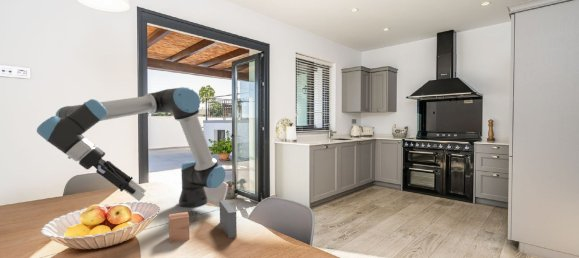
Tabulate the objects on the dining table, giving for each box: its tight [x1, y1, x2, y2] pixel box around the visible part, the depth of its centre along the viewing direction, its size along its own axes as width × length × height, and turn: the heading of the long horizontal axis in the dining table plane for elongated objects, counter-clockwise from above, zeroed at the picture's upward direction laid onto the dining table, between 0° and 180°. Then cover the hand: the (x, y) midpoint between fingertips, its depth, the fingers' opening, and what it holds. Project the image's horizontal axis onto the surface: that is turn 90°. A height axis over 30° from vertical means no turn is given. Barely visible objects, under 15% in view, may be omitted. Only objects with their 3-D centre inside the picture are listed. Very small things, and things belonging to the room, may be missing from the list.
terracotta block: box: [168, 211, 190, 244], centre depth 107 cm, size 6×7×9 cm
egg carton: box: [181, 208, 201, 223], centre depth 125 cm, size 11×8×4 cm
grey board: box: [219, 199, 238, 239], centre depth 115 cm, size 18×3×10 cm, turn 25°
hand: (142, 195), depth 101 cm, fingers open, 6 cm apart
